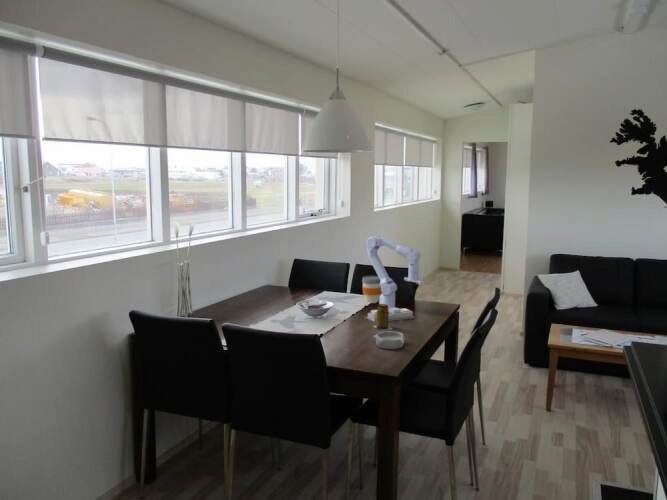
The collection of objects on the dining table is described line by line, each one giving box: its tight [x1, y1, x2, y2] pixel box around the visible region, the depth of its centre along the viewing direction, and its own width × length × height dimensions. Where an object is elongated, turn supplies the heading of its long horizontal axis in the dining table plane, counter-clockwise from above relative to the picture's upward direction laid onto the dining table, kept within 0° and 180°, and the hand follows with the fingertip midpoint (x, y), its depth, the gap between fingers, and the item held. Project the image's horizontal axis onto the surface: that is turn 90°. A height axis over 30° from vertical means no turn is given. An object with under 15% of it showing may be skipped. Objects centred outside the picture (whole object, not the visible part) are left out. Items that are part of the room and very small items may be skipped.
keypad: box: [364, 310, 417, 324], centre depth 300 cm, size 12×26×3 cm, turn 117°
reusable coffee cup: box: [361, 275, 382, 304], centre depth 337 cm, size 13×13×15 cm
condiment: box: [372, 303, 393, 331], centre depth 280 cm, size 7×8×12 cm
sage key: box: [370, 309, 378, 316], centre depth 296 cm, size 4×4×3 cm
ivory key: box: [400, 307, 411, 312], centre depth 304 cm, size 4×4×3 cm
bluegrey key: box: [390, 307, 402, 314], centre depth 301 cm, size 4×4×3 cm
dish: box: [372, 330, 405, 350], centre depth 253 cm, size 14×14×5 cm
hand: (413, 295), depth 310 cm, fingers closed
